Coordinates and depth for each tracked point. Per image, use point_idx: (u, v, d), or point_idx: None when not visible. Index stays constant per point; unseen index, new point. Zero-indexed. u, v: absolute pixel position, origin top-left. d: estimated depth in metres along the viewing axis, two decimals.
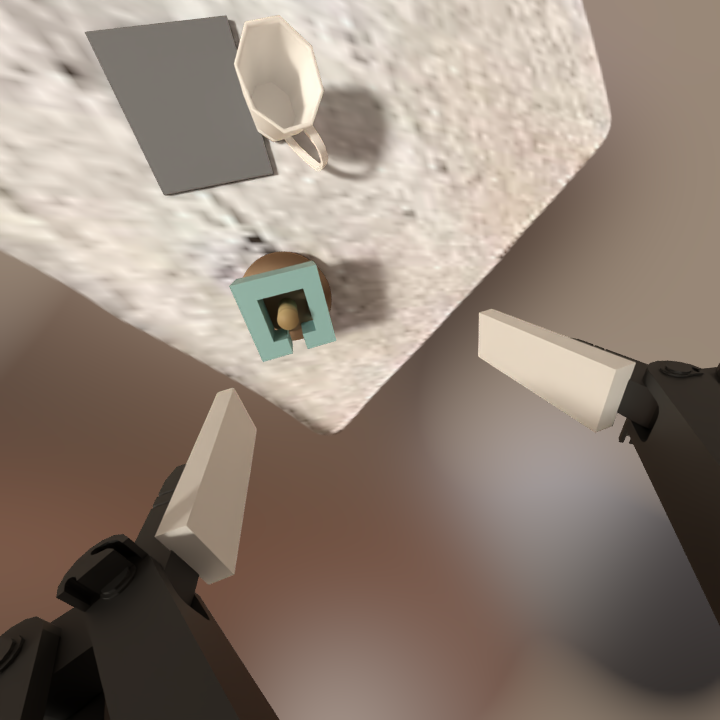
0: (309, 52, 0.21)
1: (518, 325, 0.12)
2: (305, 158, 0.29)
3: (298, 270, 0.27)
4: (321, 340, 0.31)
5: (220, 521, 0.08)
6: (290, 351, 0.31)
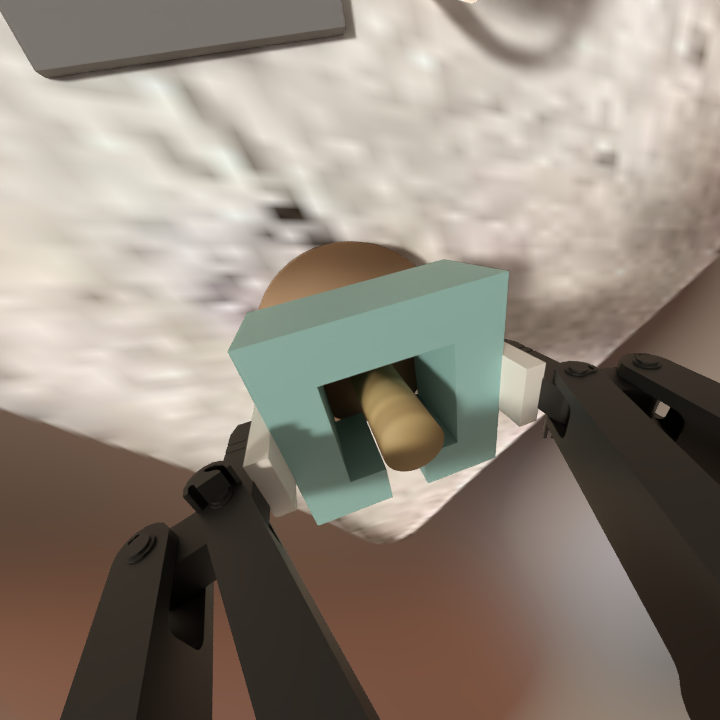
0: None
1: None
2: None
3: (455, 290, 0.08)
4: (464, 461, 0.12)
5: (284, 465, 0.09)
6: (387, 494, 0.12)
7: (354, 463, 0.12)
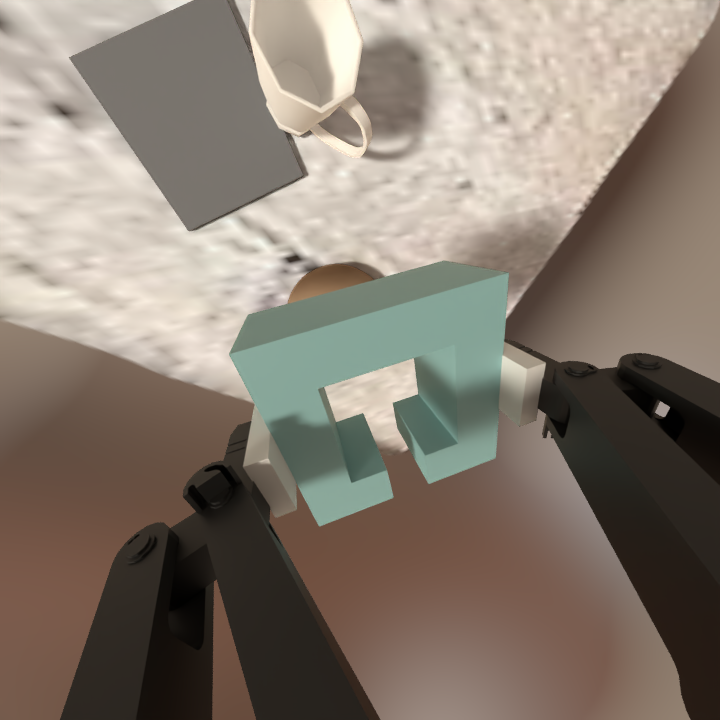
0: None
1: None
2: (338, 146, 0.23)
3: (455, 292, 0.08)
4: (464, 462, 0.12)
5: (284, 465, 0.09)
6: (388, 495, 0.12)
7: (355, 464, 0.12)
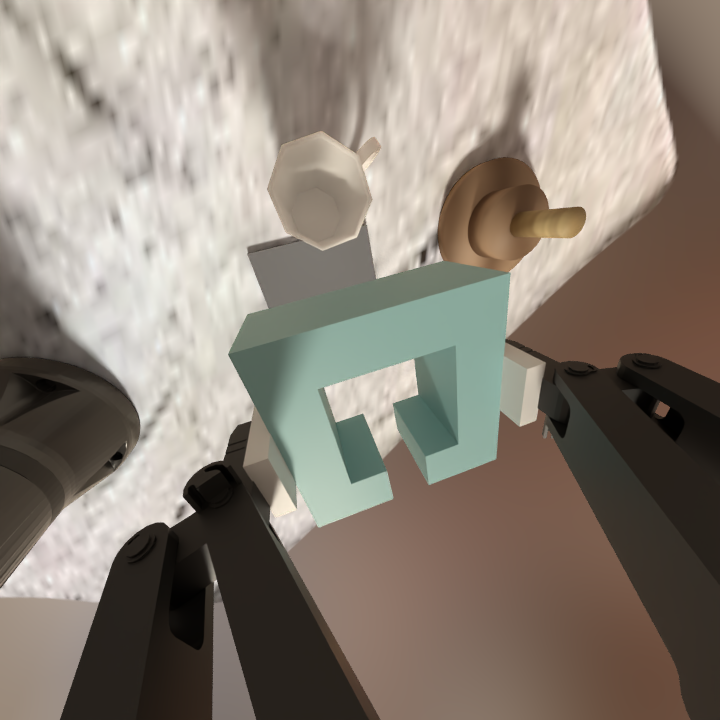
0: (288, 149, 0.16)
1: None
2: None
3: (456, 292, 0.08)
4: (464, 463, 0.12)
5: (284, 465, 0.09)
6: (388, 496, 0.12)
7: (355, 465, 0.12)
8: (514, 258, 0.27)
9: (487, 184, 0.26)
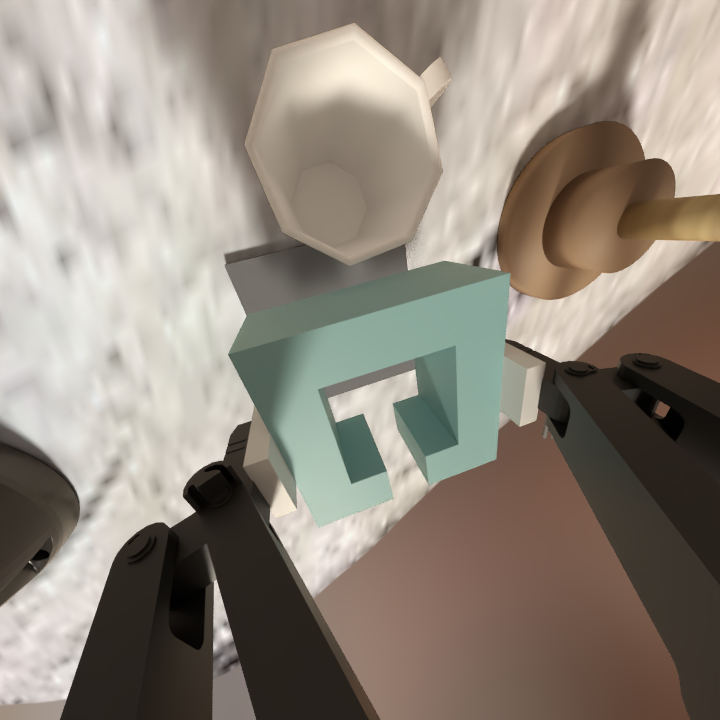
0: (285, 60, 0.08)
1: None
2: None
3: (456, 292, 0.08)
4: (464, 463, 0.12)
5: (284, 465, 0.09)
6: (388, 496, 0.12)
7: (355, 465, 0.12)
8: (615, 270, 0.18)
9: (578, 162, 0.18)
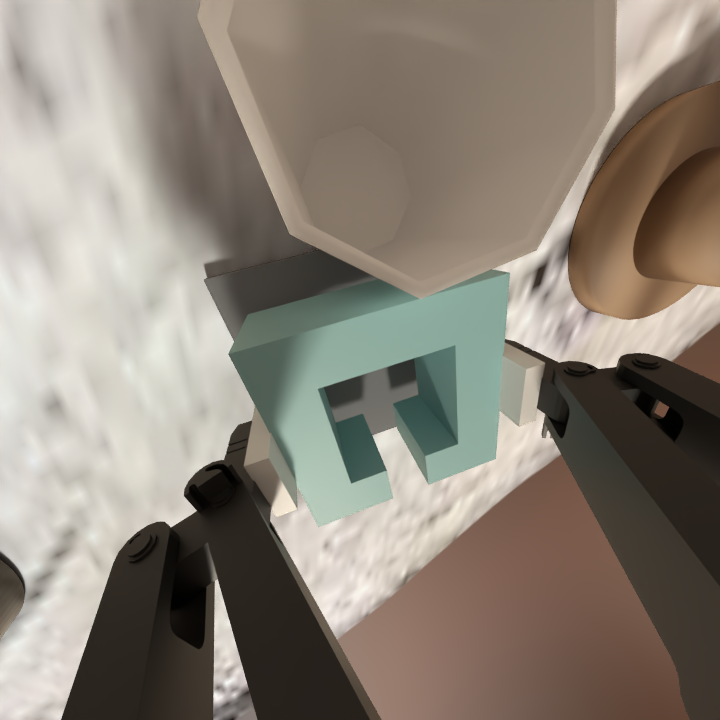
0: None
1: None
2: None
3: (455, 292, 0.08)
4: (464, 463, 0.12)
5: (284, 465, 0.09)
6: (388, 495, 0.12)
7: (354, 464, 0.12)
8: None
9: (698, 135, 0.13)
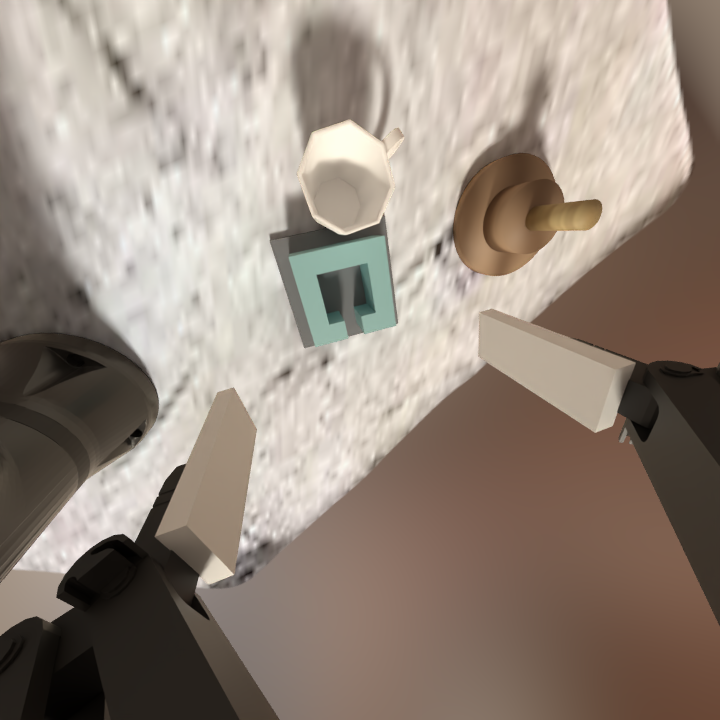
0: (318, 136, 0.17)
1: (518, 325, 0.12)
2: None
3: (364, 241, 0.24)
4: (380, 324, 0.28)
5: (220, 521, 0.08)
6: (345, 336, 0.27)
7: (331, 321, 0.27)
8: (528, 252, 0.27)
9: (504, 179, 0.27)
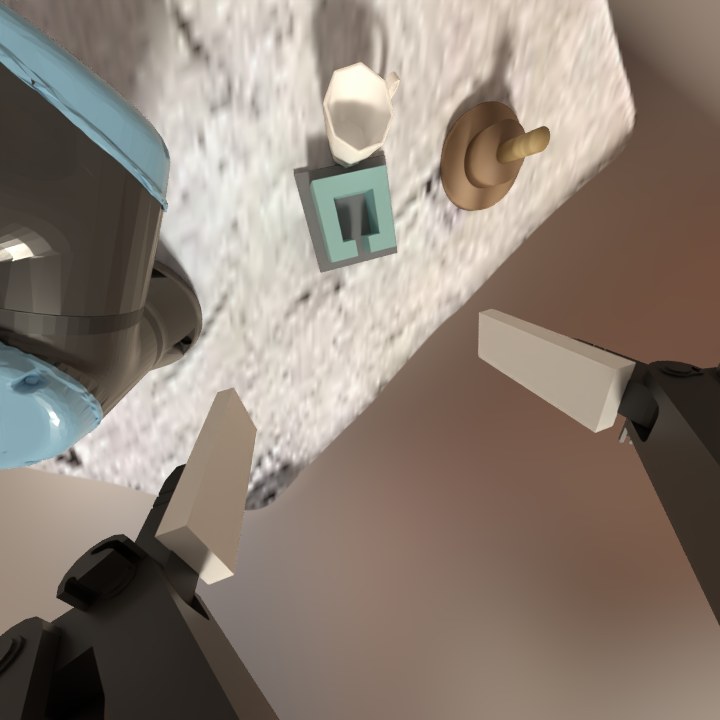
0: (338, 74, 0.24)
1: (518, 325, 0.12)
2: None
3: (370, 169, 0.30)
4: (383, 244, 0.34)
5: (220, 521, 0.08)
6: (356, 253, 0.34)
7: (344, 241, 0.34)
8: (500, 182, 0.34)
9: (479, 123, 0.34)
